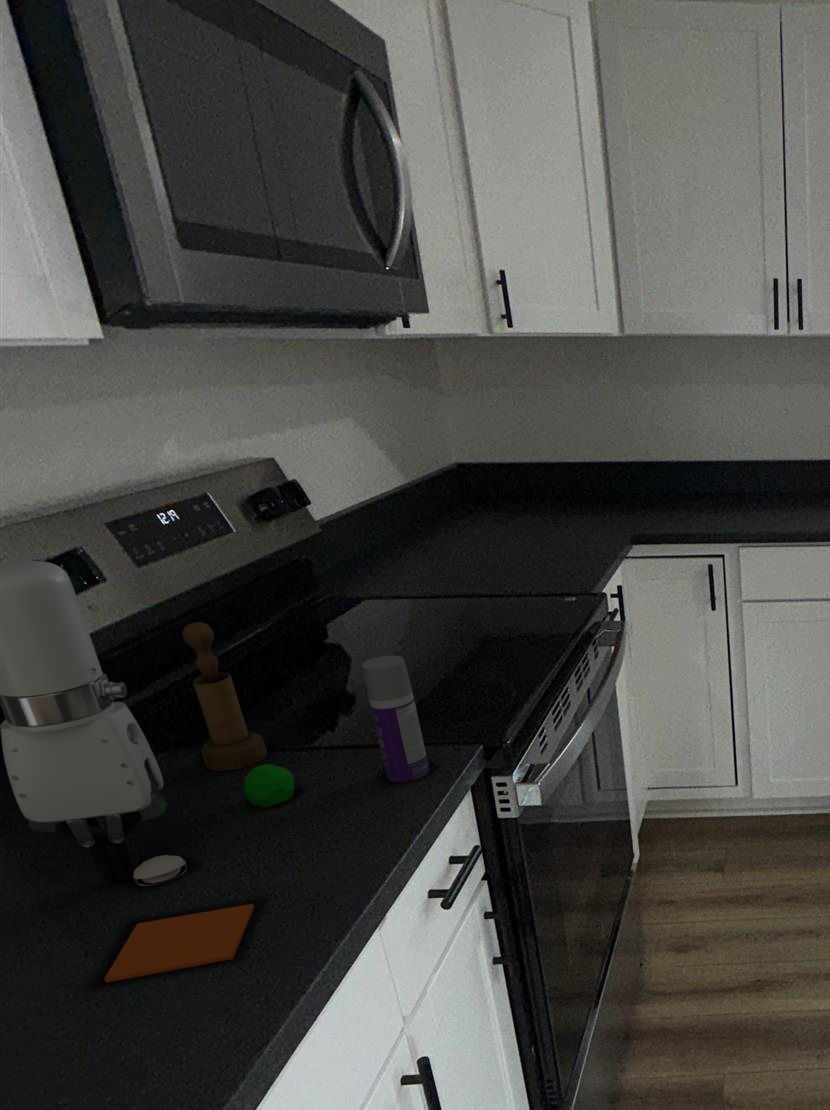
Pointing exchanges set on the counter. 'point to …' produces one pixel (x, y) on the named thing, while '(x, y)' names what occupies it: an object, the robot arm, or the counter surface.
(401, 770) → the container
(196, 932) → the orange cloth
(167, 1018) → the counter surface
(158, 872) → the macaroon
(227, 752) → the mortar and pestle
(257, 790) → the polyhedron
